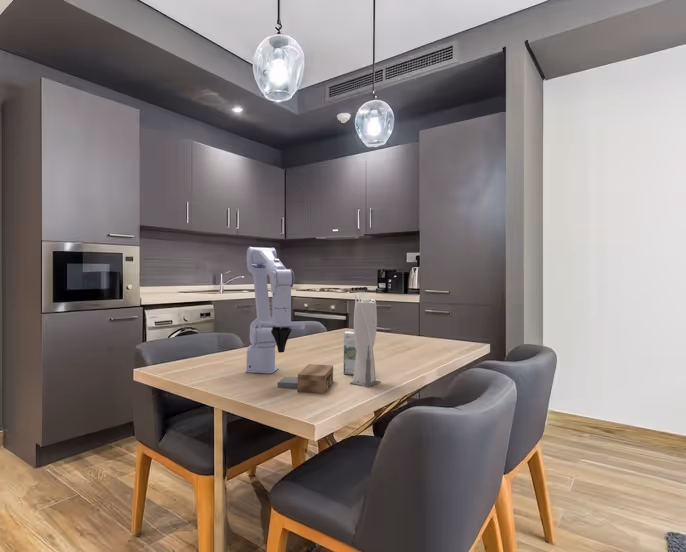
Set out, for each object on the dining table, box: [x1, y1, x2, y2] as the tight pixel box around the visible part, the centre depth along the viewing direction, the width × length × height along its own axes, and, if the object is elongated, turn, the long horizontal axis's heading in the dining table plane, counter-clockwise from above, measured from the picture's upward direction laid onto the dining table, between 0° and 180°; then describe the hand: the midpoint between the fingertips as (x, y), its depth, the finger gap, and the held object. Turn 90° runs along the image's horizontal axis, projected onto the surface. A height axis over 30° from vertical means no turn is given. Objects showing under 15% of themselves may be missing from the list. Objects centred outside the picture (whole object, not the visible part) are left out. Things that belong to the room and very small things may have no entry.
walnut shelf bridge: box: [296, 363, 334, 394], centre depth 124 cm, size 8×14×5 cm, turn 171°
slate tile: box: [277, 376, 298, 389], centre depth 125 cm, size 13×7×2 cm, turn 81°
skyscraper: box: [349, 293, 381, 388], centre depth 129 cm, size 8×8×28 cm
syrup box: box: [343, 330, 357, 376], centre depth 140 cm, size 6×6×14 cm
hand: (281, 351), depth 126 cm, fingers closed
